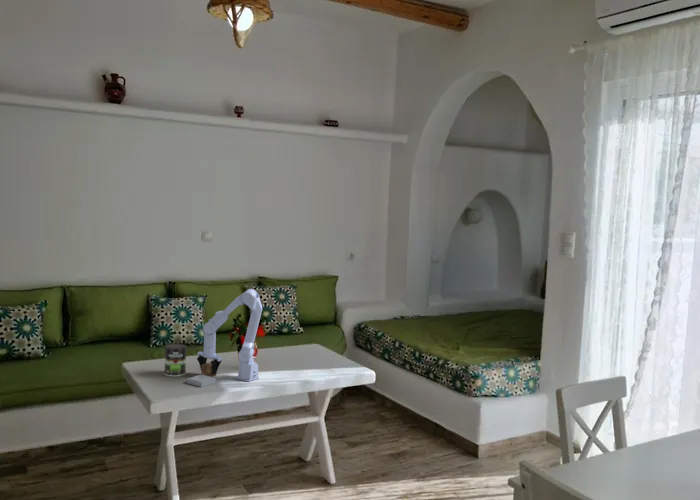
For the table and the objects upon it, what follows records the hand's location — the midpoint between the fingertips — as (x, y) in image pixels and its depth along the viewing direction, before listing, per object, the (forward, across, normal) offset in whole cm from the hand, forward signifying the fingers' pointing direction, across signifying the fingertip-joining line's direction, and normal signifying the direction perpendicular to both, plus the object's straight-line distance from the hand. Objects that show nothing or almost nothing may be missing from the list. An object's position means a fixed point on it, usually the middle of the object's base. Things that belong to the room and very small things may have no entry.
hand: (208, 372), depth 302 cm
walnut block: (+2, 0, 0) cm, 2 cm away
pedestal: (+2, -5, +10) cm, 11 cm away
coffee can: (+2, +15, +8) cm, 17 cm away
